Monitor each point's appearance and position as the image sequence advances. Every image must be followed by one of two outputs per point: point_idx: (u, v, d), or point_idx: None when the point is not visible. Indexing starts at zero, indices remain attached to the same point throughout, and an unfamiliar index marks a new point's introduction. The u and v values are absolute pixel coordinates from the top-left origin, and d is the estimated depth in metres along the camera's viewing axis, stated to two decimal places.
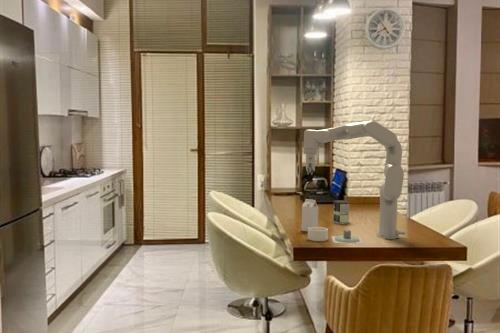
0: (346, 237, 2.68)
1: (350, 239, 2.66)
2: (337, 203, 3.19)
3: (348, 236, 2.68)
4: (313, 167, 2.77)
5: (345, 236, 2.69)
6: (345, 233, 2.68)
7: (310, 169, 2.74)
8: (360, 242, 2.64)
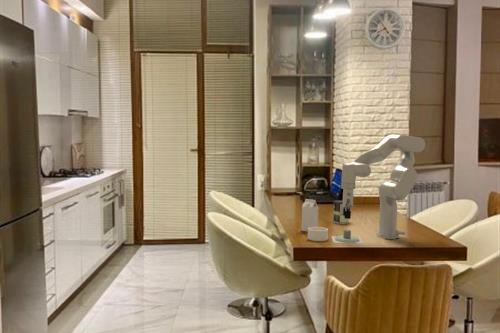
0: (346, 237, 2.68)
1: (350, 239, 2.66)
2: (337, 203, 3.19)
3: (348, 236, 2.68)
4: (351, 203, 2.63)
5: (345, 236, 2.69)
6: (345, 233, 2.68)
7: (349, 206, 2.60)
8: (360, 242, 2.64)
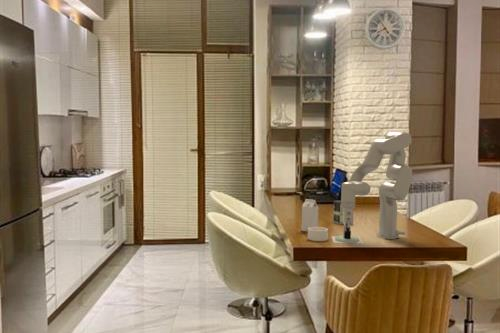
0: None
1: (350, 239, 2.66)
2: (337, 203, 3.19)
3: None
4: (352, 222, 2.64)
5: None
6: None
7: (348, 228, 2.63)
8: (360, 242, 2.64)
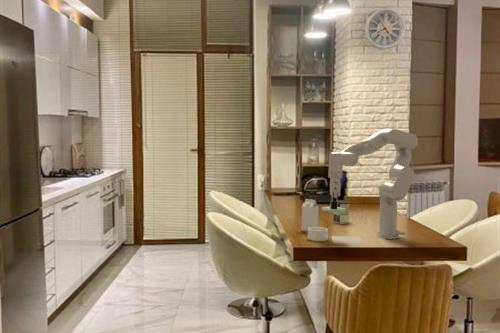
0: None
1: (337, 209, 2.66)
2: None
3: None
4: (338, 192, 2.64)
5: None
6: None
7: (335, 197, 2.63)
8: (360, 242, 2.64)
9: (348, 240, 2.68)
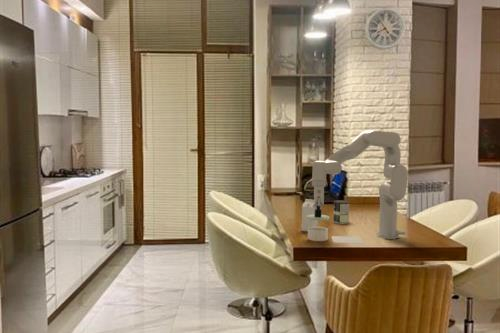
0: None
1: (320, 217, 2.67)
2: (337, 203, 3.19)
3: None
4: (322, 200, 2.65)
5: None
6: None
7: (319, 206, 2.64)
8: (360, 242, 2.64)
9: (348, 240, 2.68)
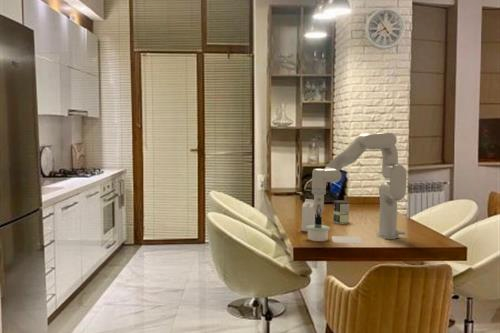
0: (317, 226, 2.70)
1: (321, 228, 2.68)
2: (337, 203, 3.19)
3: (319, 225, 2.69)
4: (322, 208, 2.65)
5: (316, 225, 2.70)
6: None
7: (319, 212, 2.63)
8: (360, 242, 2.64)
9: (348, 240, 2.68)
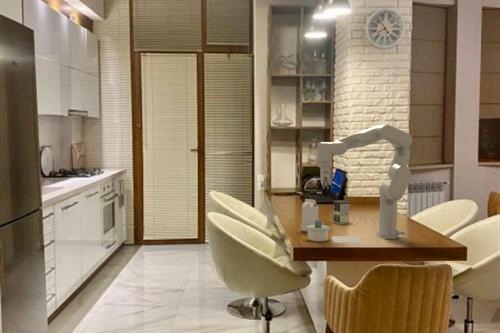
0: (317, 226, 2.70)
1: (321, 228, 2.68)
2: (337, 203, 3.19)
3: (319, 225, 2.69)
4: (329, 181, 2.69)
5: (316, 225, 2.70)
6: (316, 222, 2.70)
7: (326, 183, 2.66)
8: (360, 242, 2.64)
9: (348, 240, 2.68)
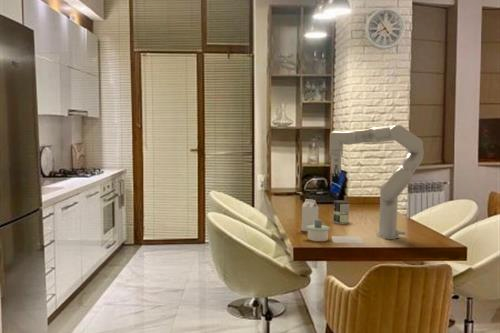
0: (317, 226, 2.70)
1: (321, 228, 2.68)
2: (337, 203, 3.19)
3: (319, 225, 2.69)
4: (339, 169, 2.80)
5: (316, 225, 2.70)
6: (316, 222, 2.70)
7: (337, 171, 2.77)
8: (360, 242, 2.64)
9: (348, 240, 2.68)
